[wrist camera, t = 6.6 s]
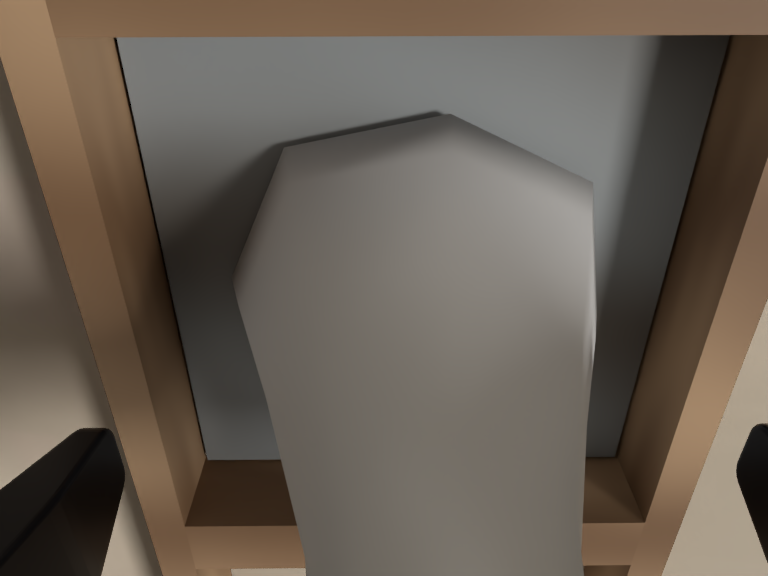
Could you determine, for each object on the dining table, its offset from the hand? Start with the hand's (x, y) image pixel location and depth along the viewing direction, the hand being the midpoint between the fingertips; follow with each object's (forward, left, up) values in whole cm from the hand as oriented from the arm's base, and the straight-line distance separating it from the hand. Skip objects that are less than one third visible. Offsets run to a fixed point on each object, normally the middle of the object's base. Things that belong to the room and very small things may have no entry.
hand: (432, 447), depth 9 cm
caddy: (-6, 0, -4) cm, 7 cm away
